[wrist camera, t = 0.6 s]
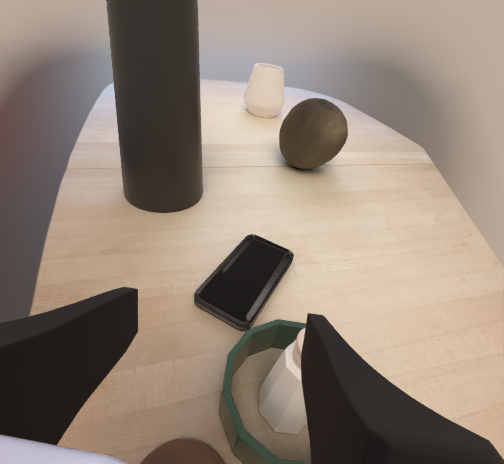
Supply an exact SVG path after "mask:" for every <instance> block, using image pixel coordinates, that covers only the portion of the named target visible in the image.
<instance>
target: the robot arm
mask: <svg viewBox="0 0 504 464" xmlns="http://www.w3.org/2000/svg"><path fill="white" fill-rule="evenodd" d="M137 332H138V289H135V288H128V287H122V288H118V289H114V290H111V291H108V292H105V293H102V294H99V295H96V296H94V297H91V298H88V299H85V300H82V301H79V302H76V303H73V304H70V305H67V306H64V307H61V308H58V309H55V310H51V311H48V312H45V313H41V314H37V315H34V316H30V317H26V318H21V319H17V320H13V321H8V322H3V323H0V464H129V463H127V462H124V461H122V460H119V459H117V458H114V457H112V456H109V455H104V454H99V453H94V452H88V451H83V450H78V449H73V448H67V447H62V446H57V444H58V442H59V441H60V439H61V438H62V436H63V434H64V433H65V431H66V430H67V428H68V427H69V425H70V424H71V422H72V421H73V419H74V418H75V416H76V415H77V413H78V412H79V410H80V409H81V407H82V406H83V405H84V403H85V402H86V401H87V399H88V398H89V397H90V396H91V394H92V393H93V392H94V391H95V389H96V388H97V387H98V386H99V384H100V383H101V382H102V381H103V379H104V378H105V377H106V376H107V375H108V373H109V372H110V371H111V370H112V368H113V367H114V366H115V365H116V363H117V362H118V361H119V360H120V358H121V357H122V356H123V354H124V353H125V352H126V350H127V349H128V347H129V346H130V344H131V342H132V341H133V339H134V337H135V335H136V334H137ZM301 381H302V389H303V396H304V403H305V410H306V416H307V423H308V430H309V437H310V447H311V463H312V464H504V460H503V458H502V457H501V456H500V454H499V453H498V451H497V450H496V449H495V447H494V446H493V445H492V444H491V442H490V441H489V440H487V439H485V438H483V437H481V436H479V435H477V434H475V433H473V432H471V431H469V430H467V429H465V428H463V427H462V426H460V425H458V424H456V423H454V422H452V421H450V420H448V419H446V418H445V417H443V416H441V415H439V414H438V413H436V412H434V411H433V410H431V409H429V408H428V407H426V406H424V405H423V404H421V403H420V402H418V401H416V400H415V399H413V398H412V397H410V396H409V395H408V394H406V393H405V392H403V391H402V390H400V389H399V388H398V387H396V386H395V385H393V384H392V383H391V382H389V381H388V380H387V379H386V378H384V377H383V376H382V375H381V374H379V373H378V372H377V371H376V370H375V369H373V368H372V367H371V366H370V365H369V364H368V363H367V362H366V361H364V360H363V359H362V358H361V357H360V356H359V355H358V354H357V353H356V352H355V351H354V350H353V349H352V348H351V347H350V346H349V345H348V343H347V342H346V341H345V340H344V339H343V338H342V337H341V336H340V335H339V333H338V332H337V331H336V330H335V329H334V327H333V326H332V325H331V324H330V323H329V322H328V320H327V319H326V318H325V317H324V316H323V315H317V314H310V313H308V316H307V322H306V328H305V334H304V340H303V346H302V352H301Z"/></svg>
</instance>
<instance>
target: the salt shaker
mask: <svg viewBox="0 0 504 464" xmlns="http://www.w3.org/2000/svg"><path fill="white" fill-rule="evenodd" d="M304 334H305V328H304V329H302V330H301V331H300V332H299V334H298V335H297V339H296V340H295V341H294V342H293V343H292V344H290V345H289V346H288V347H287V348H286V349H285V350H284V351H283V353H282V354H281V356H280V357H279V359H278V360H277V362H276V363H275V365H274V366H273V368H272V370H271V371H270V373H269V374H268V376H267V377H266V379H265V380H264V382H263V383H262V385H261V386H260V388H259V413H260V414H261V415H262V416H263V418H264V419H265V420H266V422H267V423H268V424H269V425H270V427H271V428H272V429H273V431H274V432H281V433H289V434H298V433H299V432H300V431H301V430H302V429H303V428H304V426H305V425H306V424H307V416H306V410H305V403H304V396H303V389H302V381H301V352H302V346H303V340H304Z"/></svg>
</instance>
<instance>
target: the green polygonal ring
mask: <svg viewBox="0 0 504 464" xmlns="http://www.w3.org/2000/svg"><path fill="white" fill-rule="evenodd" d="M304 328H306V324H305V323H299V322H292V321H286V320H279V319H278V320H274V321H271V322H268V323H265V324H262V325H260V326H257V327H254V328H251V329H249V330H248V331H247V332H246V333H245V335H244V336H243V337H242V338H241V339H240V341H239V342H238V343H237V344H236V345H235V347H234V348H233V349H232V350H231V351H230V353H229V355H228V358H227V364H226V370H225V376H224V382H223V388H222V395H221V401H220V408H219V415H220V418H221V421H222V424H223V427H224V430H225V433H226V436H227V439H228V442H229V444H230V447H231V450H232V452H233V454H234V455H235V456H236V457H237V458H238V459H239V460H240V461H241V462H242V463H244V464H312V463H305V462H298V461H291V460H284V459H278V458H277V457H275V456H274V455H273V454H272V453H271V452H270V451H269V450H267V449H266V448H265V447H264V446H263V445H262V444H260V443H259V442H258V441H257V440H256V439H255V438H254V437H252V436H251V435H250V434H249V433H248V432H247V431H246V430H245V429H244V427H243V424H242V422H241V419H240V416H239V414H238V411H237V409H236V406H235V403H234V401H233V398H232V395H231V393H230V387H231V380H232V376H233V374H234V373H235V372H236V371H237V369H238V368H239V367H240V365H241V364H242V363H243V361H244V360H245V359H246V357H248V356H250V355H253V354H255V353H258V352H260V351H263V350H266V349H268V348H271V347H272V348H279V349H286V348H287V347H288V346H289V345H290V344H292V343H293V342H294V341H295V340H296V339H297V335H298V334H299V332H300V331H301V330H302V329H304Z"/></svg>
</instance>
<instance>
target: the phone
mask: <svg viewBox="0 0 504 464" xmlns="http://www.w3.org/2000/svg"><path fill="white" fill-rule="evenodd" d="M293 256H294V255H293V253H292V252H291V251H290V250H288V249H286V248H283V247H281V246H279V245H277V244H275V243H272V242H270V241H268V240H266V239H264V238H261V237H259V236H257V235H253V234H251V235H248V236H246V237H245V239H244V240H243V241H242V242H241V243H240V244H239V245H238V246H237V247H236V248H235V249H234V250H233V251H232V253H231V254H230V255H229V256H228V257H227V258H226V259H225V260H224V261H223V262H222V263H221V264H220V265H219V267H218V268H217V269H216V270H215V271H214V272H213V273H212V274H211V275H210V276H209V277H208V278H207V279H206V280H205V282H204V283H203V284H202V285H201V286H200V287H199V288H198V289H197V290H196V292H195V294H194V302H195V304H196V306H198V307H199V308H201V309H203V310H205V311H206V312H208V313H210V314H212V315H213V316H215V317H217V318H219V319H220V320H222V321H224V322H226V323H227V324H229V325H231V326H233V327H234V328H236V329H238V330H241V331H245V330H248V329H249V328H250V327H251V326H252V325H253V323H254V321H255V320H256V318H257V317H258V315H259V313H260V312H261V310H262V309H263V307H264V306H265V304H266V302H267V301H268V299H269V298H270V296H271V294H272V293H273V291H274V290H275V288H276V287H277V285H278V283H279V282H280V280H281V279H282V277H283V275H284V274H285V272H286V271H287V269H288V268H289V266H290V264H291V263H292V260H293Z"/></svg>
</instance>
